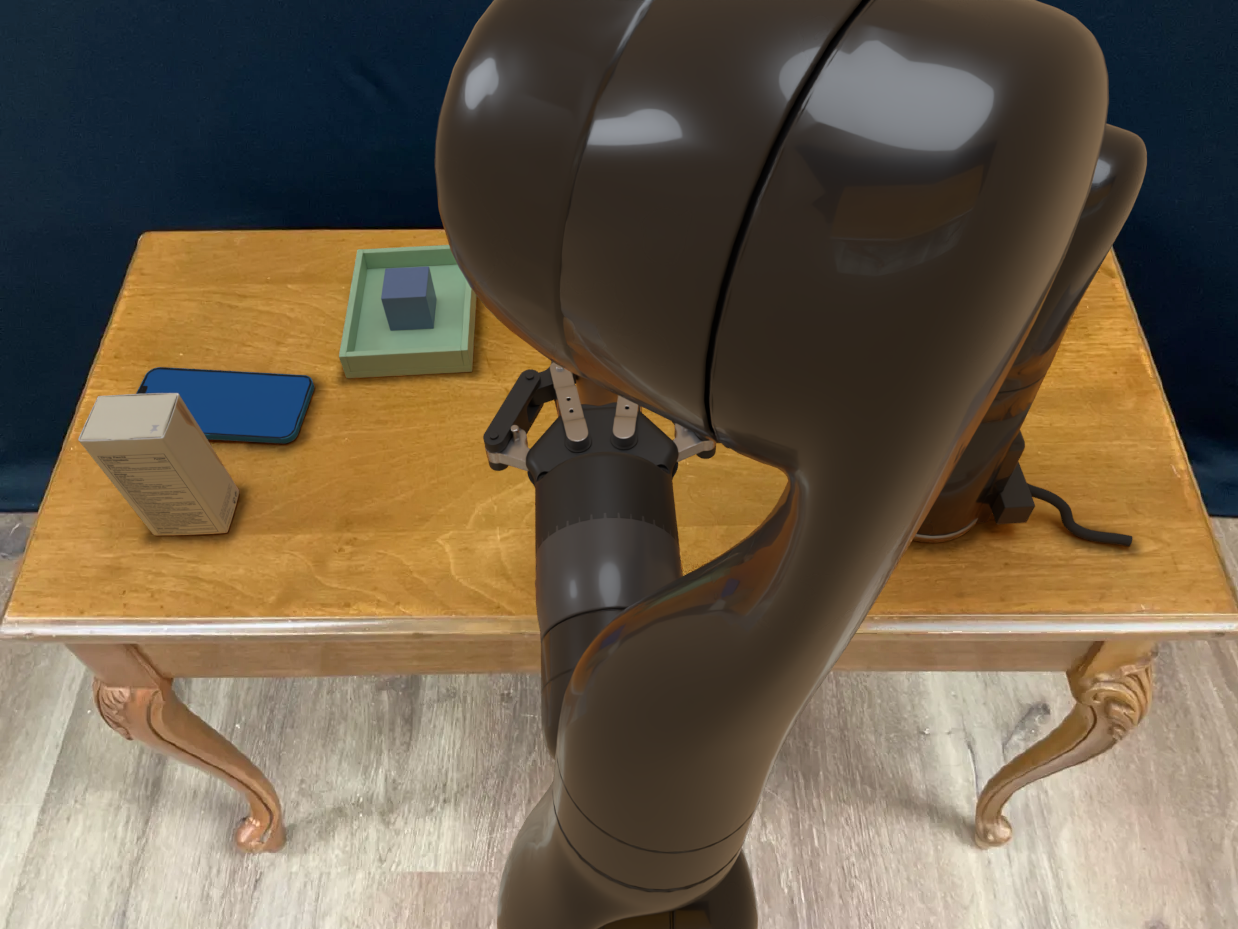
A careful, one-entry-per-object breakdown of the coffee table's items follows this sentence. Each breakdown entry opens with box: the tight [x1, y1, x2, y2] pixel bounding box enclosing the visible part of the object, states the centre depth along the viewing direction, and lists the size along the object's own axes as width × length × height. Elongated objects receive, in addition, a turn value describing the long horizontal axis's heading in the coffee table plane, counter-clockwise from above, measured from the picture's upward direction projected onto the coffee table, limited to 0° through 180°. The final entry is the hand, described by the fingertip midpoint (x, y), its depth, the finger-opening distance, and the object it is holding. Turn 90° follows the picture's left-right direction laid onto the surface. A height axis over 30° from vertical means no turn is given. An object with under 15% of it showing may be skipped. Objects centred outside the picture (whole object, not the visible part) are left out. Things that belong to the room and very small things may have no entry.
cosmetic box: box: [77, 393, 240, 536], centre depth 73 cm, size 6×4×12 cm
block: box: [381, 266, 437, 331], centre depth 88 cm, size 4×4×4 cm
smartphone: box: [135, 366, 315, 445], centre depth 84 cm, size 7×1×15 cm
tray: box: [338, 244, 477, 379], centre depth 89 cm, size 11×14×3 cm
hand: (594, 327), depth 60 cm, fingers closed on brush, 3 cm apart
